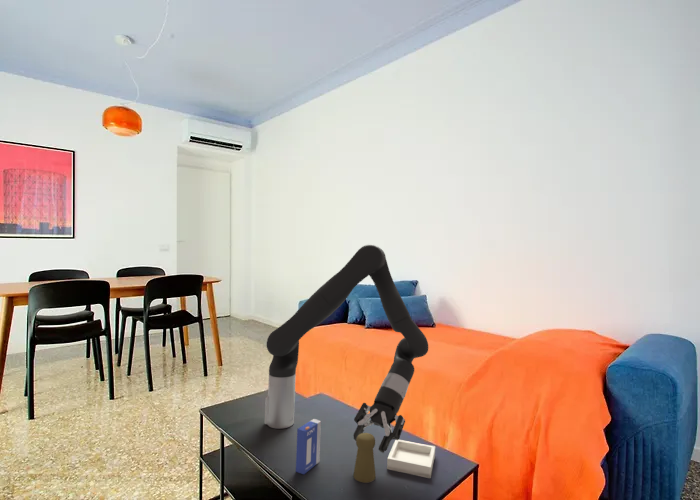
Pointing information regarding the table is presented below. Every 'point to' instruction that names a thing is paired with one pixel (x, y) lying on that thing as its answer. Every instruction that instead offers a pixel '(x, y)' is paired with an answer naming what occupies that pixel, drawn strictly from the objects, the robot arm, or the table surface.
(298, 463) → the walkman
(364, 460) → the olive pepper mill
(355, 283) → the robot arm
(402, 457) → the tray
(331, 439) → the table surface
